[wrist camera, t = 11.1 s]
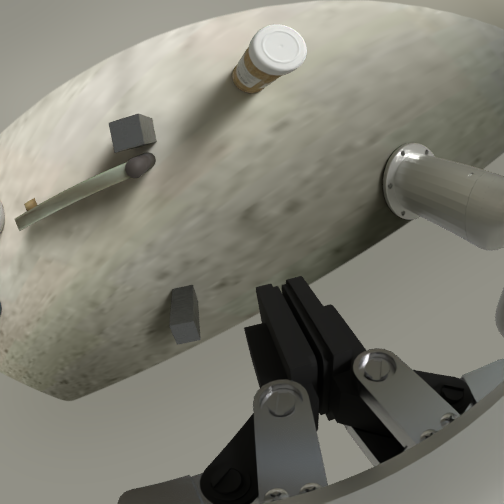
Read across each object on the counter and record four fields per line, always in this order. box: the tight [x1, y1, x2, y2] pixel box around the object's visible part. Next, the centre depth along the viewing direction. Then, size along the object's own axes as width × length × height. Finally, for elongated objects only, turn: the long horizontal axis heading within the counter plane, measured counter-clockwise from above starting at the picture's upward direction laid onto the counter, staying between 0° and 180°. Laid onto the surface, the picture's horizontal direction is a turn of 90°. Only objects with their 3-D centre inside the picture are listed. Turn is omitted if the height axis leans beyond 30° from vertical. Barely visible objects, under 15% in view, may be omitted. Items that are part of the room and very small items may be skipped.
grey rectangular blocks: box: [109, 114, 200, 344], centre depth 31 cm, size 3×26×8 cm, turn 9°
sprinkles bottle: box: [232, 24, 307, 93], centre depth 24 cm, size 5×5×13 cm
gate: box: [15, 153, 156, 231], centre depth 27 cm, size 3×18×8 cm, turn 105°
